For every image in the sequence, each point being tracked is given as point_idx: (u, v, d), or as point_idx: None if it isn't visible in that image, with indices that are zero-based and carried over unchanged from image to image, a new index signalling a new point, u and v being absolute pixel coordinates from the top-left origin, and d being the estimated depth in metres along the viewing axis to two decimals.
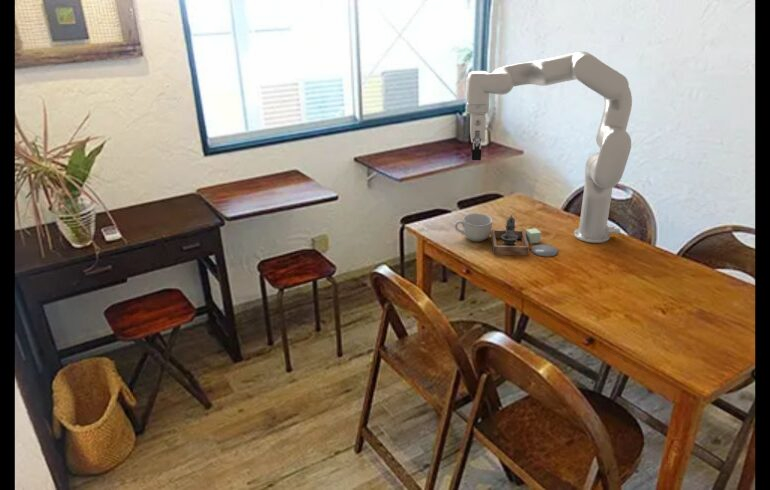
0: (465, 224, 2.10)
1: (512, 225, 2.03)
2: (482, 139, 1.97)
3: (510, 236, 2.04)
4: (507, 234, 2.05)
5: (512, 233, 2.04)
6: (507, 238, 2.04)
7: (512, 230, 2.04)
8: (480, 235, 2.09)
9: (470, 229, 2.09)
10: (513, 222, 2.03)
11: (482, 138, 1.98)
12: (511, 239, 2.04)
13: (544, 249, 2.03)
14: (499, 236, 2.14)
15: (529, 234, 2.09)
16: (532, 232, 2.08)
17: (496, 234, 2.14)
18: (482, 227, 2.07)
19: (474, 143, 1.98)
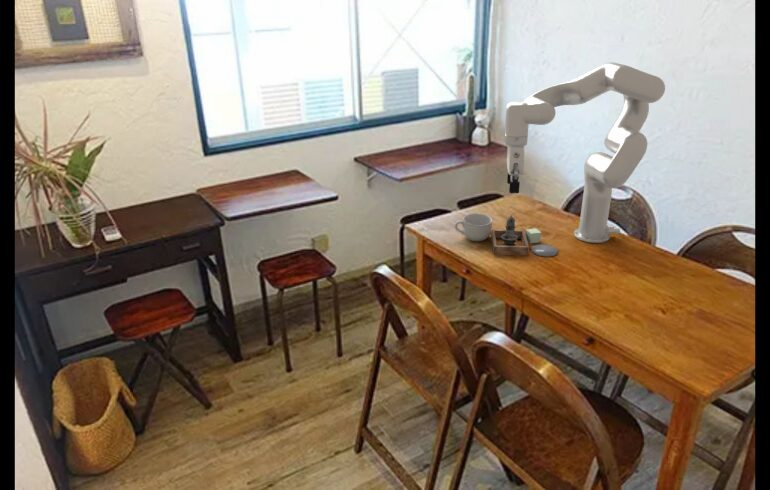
0: (465, 224, 2.10)
1: (512, 225, 2.03)
2: (520, 172, 1.91)
3: (510, 236, 2.04)
4: (507, 234, 2.05)
5: (512, 233, 2.04)
6: (507, 238, 2.04)
7: (512, 230, 2.04)
8: (480, 235, 2.09)
9: (470, 229, 2.09)
10: (513, 222, 2.03)
11: (521, 171, 1.91)
12: (511, 239, 2.04)
13: (544, 249, 2.03)
14: (499, 236, 2.14)
15: (529, 234, 2.09)
16: (532, 232, 2.08)
17: (496, 234, 2.14)
18: (482, 227, 2.07)
19: (512, 176, 1.92)
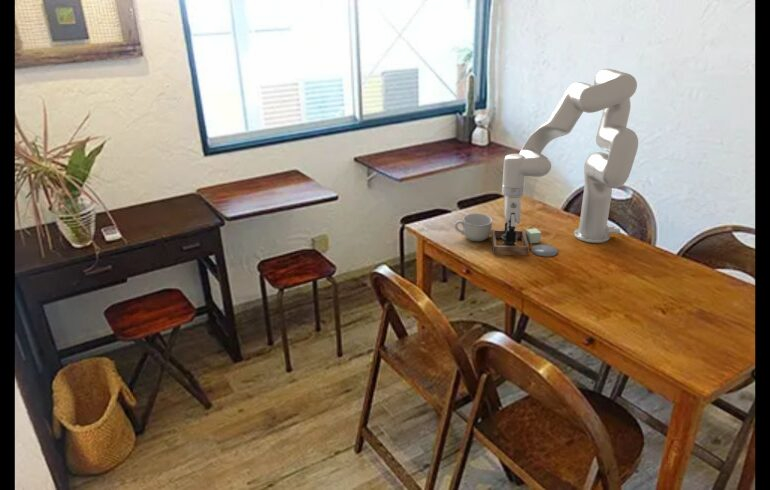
0: (465, 224, 2.10)
1: None
2: (517, 221, 1.98)
3: None
4: None
5: None
6: None
7: None
8: (480, 235, 2.09)
9: (470, 229, 2.09)
10: None
11: (518, 220, 1.98)
12: None
13: (544, 249, 2.03)
14: (499, 236, 2.14)
15: (529, 234, 2.09)
16: (532, 232, 2.08)
17: (496, 234, 2.14)
18: (482, 227, 2.07)
19: None
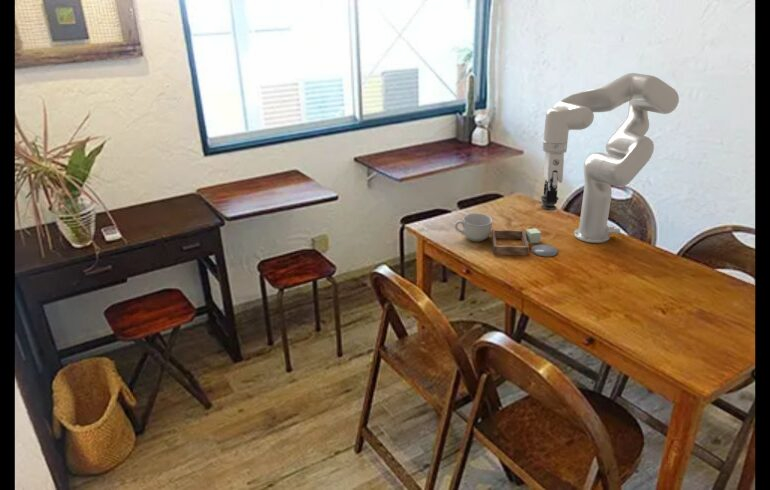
0: (465, 224, 2.10)
1: None
2: (560, 179, 1.86)
3: None
4: None
5: None
6: None
7: None
8: (480, 235, 2.09)
9: (470, 229, 2.09)
10: None
11: (560, 178, 1.86)
12: None
13: (544, 249, 2.03)
14: (499, 236, 2.14)
15: (529, 234, 2.09)
16: (532, 232, 2.08)
17: (496, 234, 2.14)
18: (482, 227, 2.07)
19: (550, 185, 1.88)
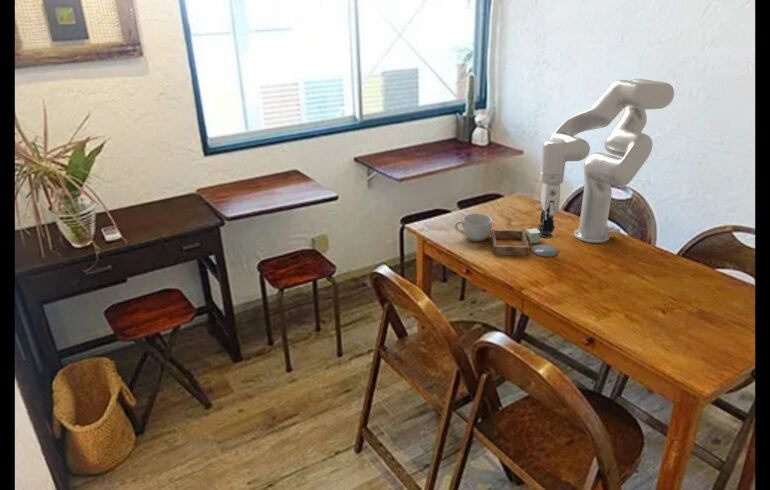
0: (465, 224, 2.10)
1: None
2: (556, 209, 1.91)
3: None
4: None
5: None
6: None
7: None
8: (480, 235, 2.09)
9: (470, 229, 2.09)
10: None
11: (556, 208, 1.91)
12: None
13: (544, 249, 2.03)
14: (499, 236, 2.14)
15: (529, 234, 2.09)
16: (532, 232, 2.08)
17: (496, 234, 2.14)
18: (482, 227, 2.07)
19: None
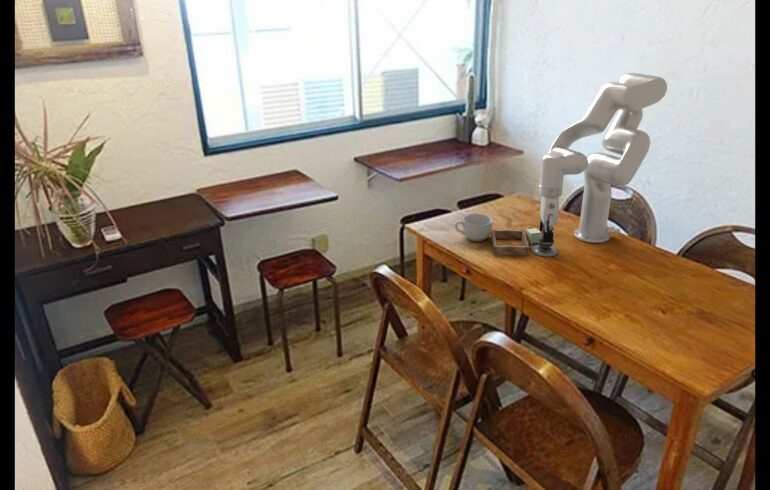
0: (465, 224, 2.10)
1: None
2: (555, 222, 1.93)
3: None
4: None
5: None
6: (543, 242, 1.99)
7: None
8: (480, 235, 2.09)
9: (470, 229, 2.09)
10: None
11: (555, 221, 1.93)
12: (547, 243, 1.99)
13: None
14: (499, 236, 2.14)
15: (529, 234, 2.09)
16: (532, 232, 2.08)
17: (496, 234, 2.14)
18: (482, 227, 2.07)
19: (546, 226, 1.94)
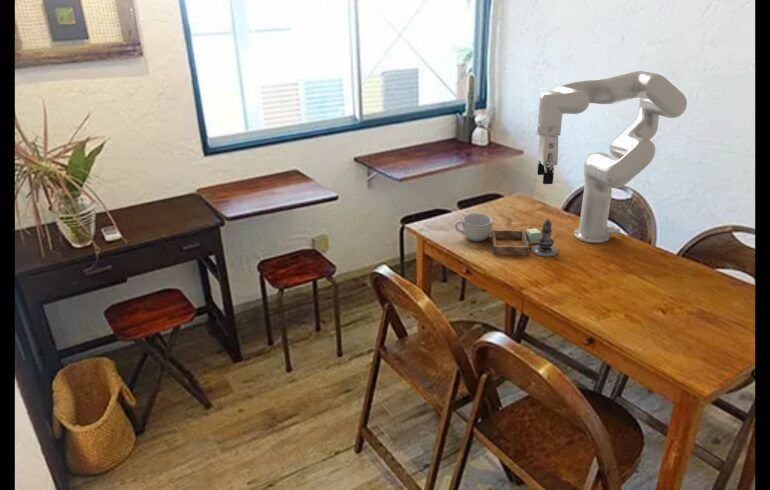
0: (465, 224, 2.10)
1: (549, 228, 1.98)
2: (555, 162, 1.89)
3: (546, 240, 1.99)
4: (543, 238, 2.00)
5: (548, 237, 1.99)
6: (543, 242, 1.99)
7: (549, 234, 1.99)
8: (480, 235, 2.09)
9: (470, 229, 2.09)
10: (550, 225, 1.98)
11: (555, 161, 1.89)
12: (547, 243, 1.99)
13: None
14: (499, 236, 2.14)
15: (529, 234, 2.09)
16: (532, 232, 2.08)
17: (496, 234, 2.14)
18: (482, 227, 2.07)
19: (546, 166, 1.89)
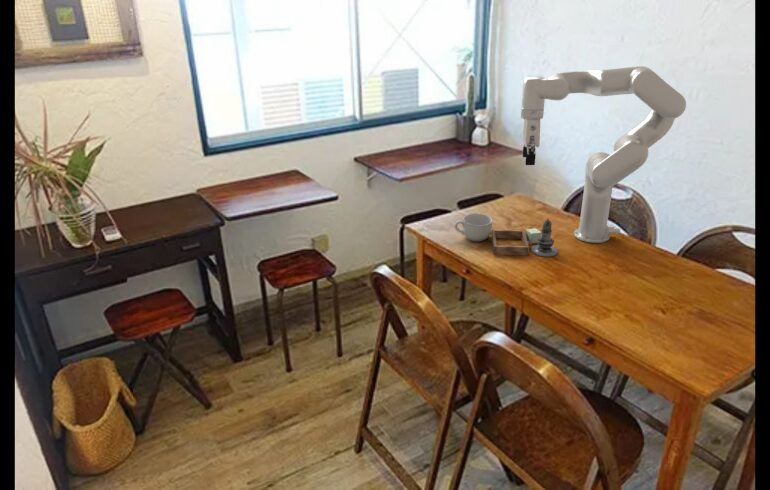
0: (465, 224, 2.10)
1: (549, 228, 1.98)
2: (537, 144, 1.98)
3: (546, 240, 1.99)
4: (543, 238, 2.00)
5: (548, 237, 1.99)
6: (543, 242, 1.99)
7: (549, 234, 1.99)
8: (480, 235, 2.09)
9: (470, 229, 2.09)
10: (550, 225, 1.98)
11: (537, 143, 1.98)
12: (547, 243, 1.99)
13: None
14: (499, 236, 2.14)
15: (529, 234, 2.09)
16: (532, 232, 2.08)
17: (496, 234, 2.14)
18: (482, 227, 2.07)
19: (528, 148, 1.99)
